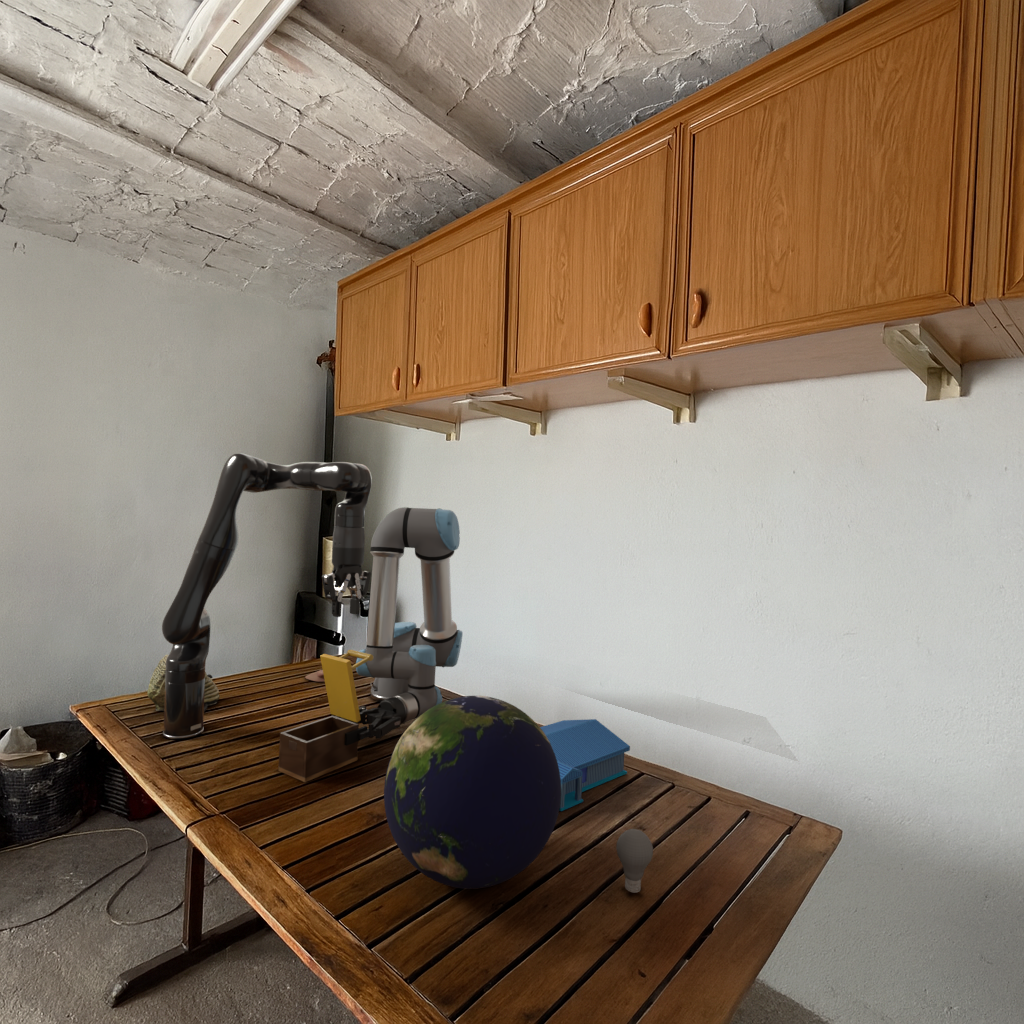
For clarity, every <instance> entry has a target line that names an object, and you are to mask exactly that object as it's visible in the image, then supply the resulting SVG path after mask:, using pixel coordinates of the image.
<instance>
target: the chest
mask: <svg viewBox="0 0 1024 1024" xmlns="http://www.w3.org/2000/svg"><path fill="white" fill-rule="evenodd" d="M359 726H360V723H359V724H356V723H353V722H350V721H347V720H344V719H341V718H338V717H335V716H333V715H331V716H327V717H324V718H321V719H318V720H315V721H312V722H309V723H306V724H303V725H300V726H297V727H294V728H291V729H287V730H285V731H282V732H279V751H278V772H280V773H282V774H284V775H287V776H290V777H292V778H294V779H297V780H299V781H301V782H303V783H307V782H310V781H312V780H313V779H317V778H319V777H321V776H324V775H326V774H328V773H331V772H333V771H335V770H338V769H340V768H342V767H345V766H347V765H349V764H352V763H354V762H357V761H358V760H359V759H358V758H359V757H358V756H359V755H358V754H359V752H358V749H359V741H357V742H355V743H352V744H350V745H347V746H346V745H345V733H348V732H350V731H353V730H356V729H358V728H360V727H359Z"/></svg>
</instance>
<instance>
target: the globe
mask: <svg viewBox="0 0 1024 1024" xmlns="http://www.w3.org/2000/svg"><path fill="white" fill-rule="evenodd" d="M540 727H541V726H540V725H538V723H537V722H536V721H535V720H534V719H533V718H532V717H531V716H529V715H528V714H527V713H526V712H524V711H523V710H521V709H520V708H519V707H517V706H516V705H513V704H512V703H510V702H508V701H505V700H503V699H499V698H496V697H491V696H488V695H479V694H478V695H464V696H459V697H454V698H451V699H447V700H444V701H442V703H440V704H438V705H436V706H434V707H432V708H430V709H429V710H427V711H426V712H425V713H423V714H422V715H421V716H419V717H418V718H416V719H414V720H413V722H411V724H410V725H409V726H408V727H407V729H405V731H404V732H403V734H401V736H400V738H399V740H398V741H397V743H396V744H395V747H394V749H393V751H392V754H391V755H390V758H389V762H388V766H387V769H386V773H385V777H384V778H385V779H384V787H383V804H384V811H385V817H386V821H387V825H388V828H389V830H390V833H391V836H392V838H393V840H394V842H395V844H396V845H397V847H398V849H399V850H400V852H401V854H402V855H403V856H404V857H405V858H406V860H407V861H408V863H410V864H411V865H412V866H413V867H414V868H415V869H416V870H418V872H420V873H422V874H423V875H424V876H426V877H427V878H429V879H431V880H433V881H434V882H437V883H439V884H442V885H444V886H447V887H450V888H451V887H452V888H456V889H462V890H463V889H464V890H476V889H485V888H489V887H494V886H497V885H500V884H503V883H504V882H506V881H508V880H511V879H512V878H514V877H515V876H517V875H518V874H520V873H522V872H523V871H524V870H526V868H528V867H529V866H530V865H531V864H532V863H533V862H534V861H535V860H536V859H537V858H538V856H539V855H540V854H541V852H542V851H543V850H544V849H545V847H546V845H547V843H548V841H549V840H550V839H551V836H552V835H553V834H552V833H553V832H554V829H555V826H556V825H557V821H558V816H559V812H560V811H559V808H560V801H561V779H560V771H559V767H558V763H557V760H556V756H555V753H554V751H553V749H552V746H551V744H550V742H549V740H548V738H547V737H546V735H545V733H544V732H543V730H542V729H541V728H540Z"/></svg>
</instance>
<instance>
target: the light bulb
mask: <svg viewBox="0 0 1024 1024" xmlns="http://www.w3.org/2000/svg"><path fill="white" fill-rule="evenodd" d="M615 849H616V854H617V857H618V859H619V861H620V863H621V865H622V867H623V873H624V874H623V875H624V876H625V878H624V888H625V890H627V891H628V892H630V893H634V894H635V893H639V892H640V891H641V889H642V887H641V886H642V879H643V877H644V875H645V871H646V868H647V867H648V866H649V864H650V863H651V861H652V859H653V855H654V847H653V843H652V841H651V838H649V836H648V835H647V834H646V833H645V832H643V831H642V830H641V829H636V828H629V829H627V830H625V831H623V832H622V833H621V834H620V835H619V837H618V839H617V841H616V847H615Z"/></svg>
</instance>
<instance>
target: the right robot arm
mask: <svg viewBox="0 0 1024 1024" xmlns="http://www.w3.org/2000/svg"><path fill="white" fill-rule="evenodd" d="M460 530H461V529H460V524H459V520H458V516H457V515H456V512H454V511H453V510H451V509H443V508H423V507H422V508H421V507H407V506H405V507H398V508H395V509H393V510H391V511H389V512H388V513H387V514H386V515H385V516H384V517H383V518H382V519H381V520H380V522H379V523H378V525H377V526H376V528H375V530H374V532H373V535H372V538H371V541H370V551H369V553H370V554H371V555H372V570H371V580H370V581H371V582H370V583H371V584H370V592H369V593H370V594H369V607H368V619H367V629H366V631H367V632H366V645H365V646H366V647H365V648H364V649H360V650H359V651H358V652H363V653H367V654H371V655H373V660H372V661H369V660H368V661H367V662H365V663H363V664H362V665H360V666H358V667H357V668H355V670H356V673H357V675H358V676H360V677H366V678H373V679H374V680H373V683H372V684H371V688H370V698H371V699H372V700H374V701H376V702H379V704H378V705H377V707H372V708H369V709H367V706H366V705H361V706H358V707H359V713H360V718H361V720H360V721H359V722H354V721H351V720H348V719H345V718H342V717H339V716H336V715H332V716H335V717H338V718H341V719H344V720H347V721H350V722H353V723H356V724H359V725H360V724H362V725H363V726H362V727H359V728H358V729H356V730H353V731H350V732H348V733H345V745H346V746H347V745H350V744H352V743H355V742H357V741H358V742H360V741H363V740H365V739H368V738H370V739H371V738H374V737H375V739H376V740H379V739H381V738H383V737H385V736H386V735H387V734H389V733H390V732H393V730H395V729H400V728H401V725H405V724H406V723H408V722H410V721H414V720H416V719H417V718H418V717H419V716H421V715H422V714H423V713H425V712H426V711H427V710H429V709H430V708H432V707H434V706H436V705H438V704H440V703H442V702H443V695H442V693H441V689H440V688H439V687H438V686H437V685H436V667H437V668H438V667H439V668H440V667H441V668H453V667H454V668H455V666H457V664H458V662H459V657H460V653H461V648H462V641H463V631H462V630H460V629H458V625H457V623H456V622H455V621H454V620H453V617H452V586H451V562H450V560H451V559H450V558H451V557H453V556H454V554H455V551H457V550H458V549H459V547H460V540H461V538H460V537H461V536H460ZM406 548H407V549H408V548H409V549H414V555H415V557H416V558H417V559H418V560H420V575H421V588H422V589H421V590H422V607H423V622H422V623H421V624H420V626H419V627H417V624H416V622H414V621H413V622H412V621H399V622H396V616H397V615H396V614H397V613H396V612H397V600H398V587H399V578H400V577H399V574H400V563H401V562H400V561H401V558H402V557H404V556H405V549H406ZM361 660H363V659H361V658H357V657H356V662H355V664H356V663H358V662H360V661H361ZM367 725H368V726H367Z"/></svg>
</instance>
